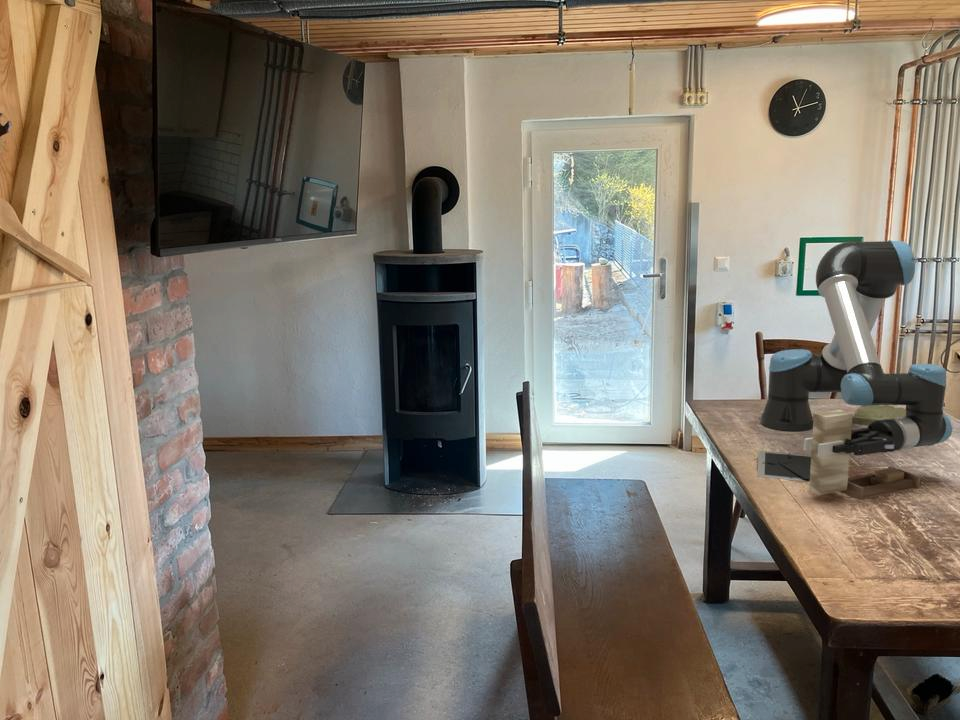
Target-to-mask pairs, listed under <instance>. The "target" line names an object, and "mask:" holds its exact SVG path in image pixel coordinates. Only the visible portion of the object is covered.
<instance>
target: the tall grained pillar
mask: <svg viewBox="0 0 960 720" xmlns="http://www.w3.org/2000/svg"><path fill="white" fill-rule="evenodd" d="M853 415H854V414H853V413H852V412H848V411H845V410H843V409H837V410H831V411H830V410H829V411H823V412H822V411H821V412H817V413H815V412H814V413H813V428H812V437H811V438H812V450H811V454H810V455H811V468H810V482H809V485H808V486H809V487H808V489H809V490H810V491H811V492H814V493H816V494H818V495H827V494H833V493H837V492H840V491H844V490H847V483H848V478H849V467H850V454H851V453H845V452H843V453H839V454H833V455H827V456H821V457H820V456H818V444H821V443H827V442H834V441H840V440H842V441H844V444H845V440H846V438H847V439H850V440H851V430H853V429H852V427H853V424H852V417H853Z"/></svg>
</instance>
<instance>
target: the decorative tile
mask: <svg viewBox="0 0 960 720" xmlns="http://www.w3.org/2000/svg"><path fill="white" fill-rule="evenodd" d="M904 416H906V408H905V407H895V405H869V406H860V405H859V407H858V408H857V410H856V411H855V412H854V414H853V416H852V425H861V426H867V427H868V426H869V425H870V424H871V423H872V422H874V421H878V420H884V419H890V418H896V417H904Z"/></svg>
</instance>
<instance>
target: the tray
mask: <svg viewBox="0 0 960 720" xmlns="http://www.w3.org/2000/svg"><path fill="white" fill-rule="evenodd" d="M888 468H893V469H896V470H899V471H902V472H904V480H898V481H893V482H888V483H885V482H884V481H881V480H879V479H876V478H875V473H870V474H865V475H860V476H855V477H848V483H847V490H844V491H839V492H840V493H842V494H846V495H848V496H850V497H852V498H855V499H856V500H859V501H862V500H868V499H872V498H876V497H877V498H878V497H881V496H882V497H883V496H888V495H893V494H897V493H903V492H907V491H913V490H916V489H920V488H921V487H920V485H921V476H920V475H916V474H914V473H911V472H909V471H907V470H906V471H905V470H903V469H900V468H897V467H894V466H891V465H889V466H888Z"/></svg>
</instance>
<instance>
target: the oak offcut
mask: <svg viewBox="0 0 960 720" xmlns="http://www.w3.org/2000/svg"><path fill="white" fill-rule="evenodd" d="M874 474H875V478H876V479H879V480H881V481H884V482H885V483H888V482H893V481H898V480H904V472H902V471H899V470H896V469H893V468H883V469H877V470H875V473H874Z"/></svg>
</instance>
